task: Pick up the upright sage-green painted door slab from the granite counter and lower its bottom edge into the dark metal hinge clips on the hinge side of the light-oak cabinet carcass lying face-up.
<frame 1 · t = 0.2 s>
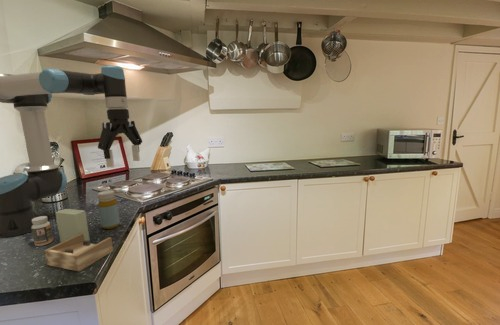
hand: (124, 163, 108), 27 cm above the worktop, fingers open, 13 cm apart
door: (75, 241, 104), on the worktop
bottle: (111, 226, 117), on the worktop
carcass: (81, 257, 91), on the worktop
pill bottle: (44, 243, 104), on the worktop
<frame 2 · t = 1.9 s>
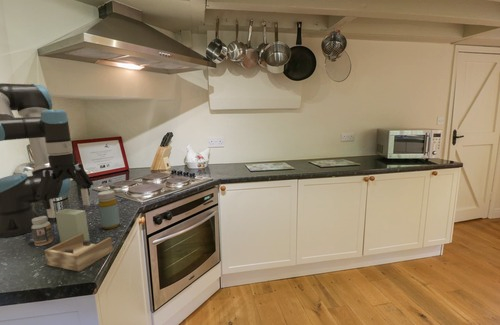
hand: (70, 210, 101), 12 cm above the worktop, fingers open, 13 cm apart
nothing on the worktop moved.
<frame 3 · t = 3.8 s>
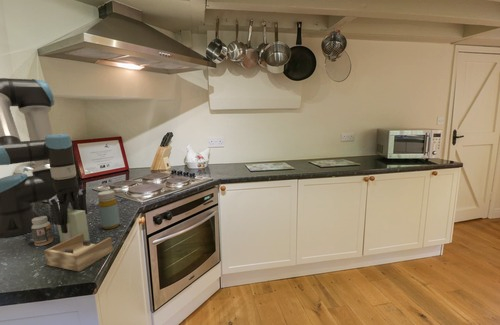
hand: (74, 237, 103), 2 cm above the worktop, fingers closed on door, 4 cm apart
door: (75, 241, 104), on the worktop, touching gripper
everything else where it was.
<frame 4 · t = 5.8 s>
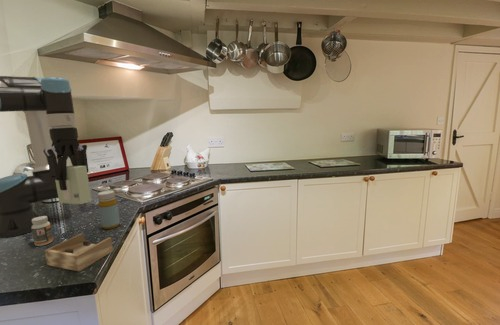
hand: (74, 196, 92), 20 cm above the worktop, fingers closed on door, 4 cm apart
door: (75, 201, 93), point 18 cm above the worktop, touching gripper
everything else where it was.
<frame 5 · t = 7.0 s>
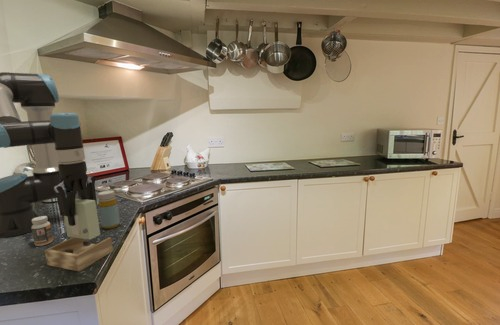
hand: (83, 230, 91), 9 cm above the worktop, fingers closed on door, 4 cm apart
door: (83, 235, 92), point 7 cm above the worktop, touching gripper
everything else where it was.
when the fingers open (5 cm above the worktop, at t = 8.0 s): door drops 2 cm, resting on carcass.
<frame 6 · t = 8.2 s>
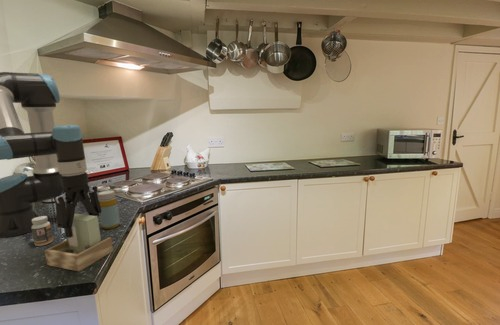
hand: (84, 240, 92), 5 cm above the worktop, fingers open, 7 cm apart
door: (86, 250, 93), point 1 cm above the worktop, touching carcass
everything else where it was.
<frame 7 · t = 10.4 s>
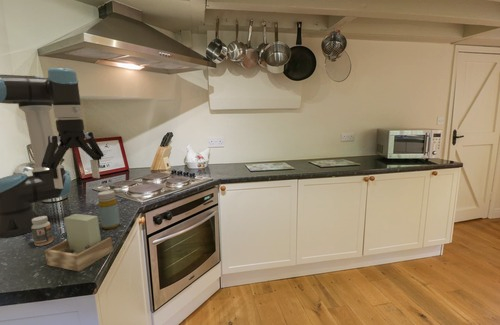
hand: (79, 182, 92), 24 cm above the worktop, fingers open, 13 cm apart
nothing on the worktop moved.
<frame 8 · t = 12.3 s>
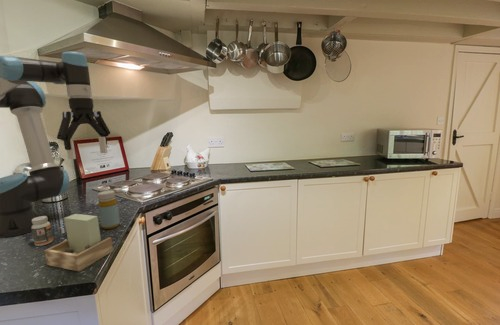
hand: (89, 155, 103), 32 cm above the worktop, fingers open, 13 cm apart
nothing on the worktop moved.
at the end: door 0.0 cm from the target spot on the carcass, point 1.5 cm above the carcass's base; door tilted 0°; the gripper is holding nothing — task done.
